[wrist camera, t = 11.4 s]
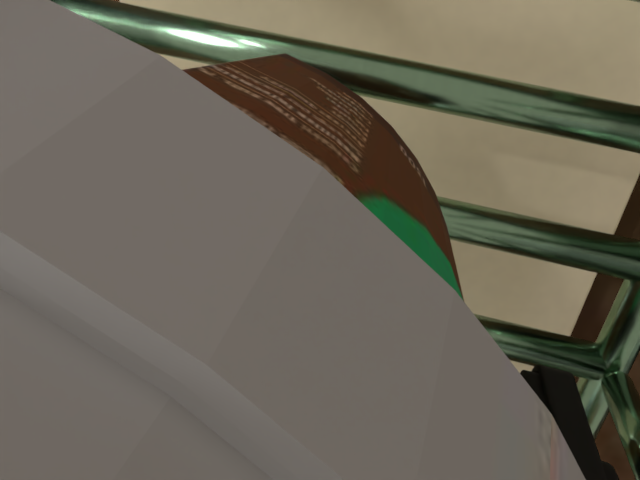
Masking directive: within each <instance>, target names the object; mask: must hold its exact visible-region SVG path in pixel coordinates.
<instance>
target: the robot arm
mask: <svg viewBox="0 0 640 480" xmlns="http://www.w3.org/2000/svg"><path fill="white" fill-rule="evenodd" d="M520 374H521V375H522V377H523V378H524V379H525V381H526V382H527V383H528V384H529V386H530V387H531V388H532V390H533V391H534V392H535V393H536V395H537V396H538V397H539V399H540V400H541V401H542V402H543V404H544V405H545V406H546V408H547V409H548V410H549V411H550V413H551V414H552V416H553V418H554V420H555V422H556V424H557V425H558V427H559V429H560V431H561V433H562V435H563V437H564V439H565V441H566V443H567V445H568V447H569V448H570V450H571V452H572V454H573V456H574V458H575V460H576V462H577V464H578V466H579V468H580V470H581V472H582V473H583V475H584V477H585V479H586V480H619V478H618V476H617V474H616V472H615V469H614V467H613V466H611V465H610V464H609V463H607V462H603V461H601V459H600V456H599V453H598V450H597V447H596V444H595V441H594V437H593V434H592V431H591V428H590V425H589V422H588V419H587V416H586V413H585V410H584V406H583V403H582V400H581V397H580V394H579V391H578V388H577V385H576V382H575V379H574V376H573V374H572V373H570V372H567V371H563V370H559V369H555V368H551V367H546V366H542V365H535V366H534V368H533V369H532V371H527V370H522V371H521V373H520Z"/></svg>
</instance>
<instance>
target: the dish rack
mask: <svg viewBox="0 0 640 480" xmlns="http://www.w3.org/2000/svg"><path fill="white" fill-rule="evenodd" d="M50 1H52V2H54V3H56V4H58V5H60V6H62V7H64V8H66V9H68V10H70V11H72V12H74V13H76V14H78V15H80V16H82V17H84V18H86V19H88V20H90V21H92V22H94V23H96V24H98V25H100V26H102V27H104V28H106V29H109V30H111V31H113V32H115V33H117V34H119V35H121V36H123V37H125V38H127V39H129V40H131V41H133V42H135V43H137V44H139V45H141V46H143V47H145V48H147V49H149V50H151V51H153V52H155V53H157V54H159V55H161V56H162V57H164V58H165V59H167V60H168V61H170V62H171V63H172V64H174V65H175V66H177V67H178V68H180V69H181V70H183V69H190V68H196V67H202V66H208V65H215V64H221V63H227V62H233V61H240V60H246V59H252V58H259V57H265V56H271V55H277V54H284V53H286V54H288V55H290V56H292V57H294V58H296V59H298V60H300V61H303V62H305V63H307V64H309V65H311V66H313V67H315V68H317V69H319V70H321V71H323V72H325V73H327V74H329V75H330V76H332V77H333V78H334V79H336V80H337V81H339V82H340V83H342V84H343V85H344V86H346V87H347V88H349V89H350V90H352V91H353V92H354V93H356V94H357V95H359V96H360V97H362V98H363V99H364V100H365V101H366V102H367V103H368V104H369V105H370V106H371V107H372V108H373V109H374V110H375V111H376V112H377V113H379V114H380V115H381V116H382V117H383V118H384V119H385V120H386V121H387V122H388V123H389V124H390V125H391V126H392V127H393V128H394V129H395V131H396V132H397V133H398V135H399V136H400V137H401V139H402V140H403V141H404V142H405V144H406V145H407V146H408V148H409V149H410V150H411V152H412V153H413V154H414V155H415V157H416V158H417V160H418V161H419V163H420V165H421V167H422V169H423V171H424V173H425V174H426V176H427V178H428V180H429V182H430V184H431V185H432V187H433V189H434V191H435V193H436V196H437V199H438V202H439V205H440V208H441V211H442V214H443V216H444V219H445V222H446V225H447V229H448V233H449V237H450V242H451V246H452V250H453V255H454V259H455V263H456V268H457V272H458V276H459V281H460V285H461V289H462V294H463V298H464V302H465V304H466V305H467V306H468V307H469V309H470V310H471V311H472V313H473V314H474V315H475V316H476V318H477V319H478V320H479V322H480V323H481V324H482V325H483V327H484V328H485V329H486V331H487V332H488V333H489V334H490V336H491V337H492V338H493V340H494V341H495V342H496V343H497V345H498V346H499V347H500V349H501V350H502V351H503V352H504V354H505V355H506V356H507V357H508V359H509V360H510V361H511V363H512V364H513V365H514V366H515V368H516V369H517V370H518V372H519V373H521V371H522V370H527V371H532V369H533V368H534V366H535V365H542V366H546V367H551V368H555V369H559V370H563V371H567V372H570V373H572V374H573V376H576V377H580V378H579V380H578V382H577V384H576V385H577V388H578V391H579V394H580V397H581V400H582V403H583V406H584V410H585V413H586V416H587V419H588V422H589V425H590V428H591V431H592V434H593V437H594V441H595V439H596V437H597V435H598V433H599V431H600V429H601V427H602V425H603V423H604V421H605V419H606V417H607V415H608V413H609V411H610V413H611V415H612V418H613V421H614V423H615V426H616V429H617V431H618V434H619V437H620V439H621V442H622V445H623V447H624V450H625V452H626V455H627V458H628V460H629V463H630V466H631V468H632V471H633V474H634V476H635V479H636V480H640V396H639V394H638V392H637V390H636V388H635V385H634V383H633V381H632V379H631V378H630V377H629V376H628V373H629V371H630V369H631V367H632V365H633V363H634V361H635V359H636V357H637V355H638V353H639V351H640V240H636V239H631V238H626V237H622V236H617V235H614V233H615V231H616V229H617V226H618V224H619V222H620V219H621V217H622V215H623V212H624V210H625V208H626V205H627V203H628V201H629V198H630V196H631V194H632V191H633V189H634V187H635V184H636V182H637V180H638V177H639V175H640V0H120V2H117V1H112V0H50ZM597 273H599V274H604V275H608V276H612V277H617V278H621V279H624V281H623V283H622V285H621V288H620V290H619V292H618V294H617V296H616V299H615V301H614V303H613V305H612V307H611V310H610V312H609V314H608V316H607V318H606V321H605V323H604V325H603V327H602V329H601V332H600V334H599V336H598V338H597V340H596V342H592V341H588V340H583V339H579V338H575V337H571V333H572V331H573V329H574V326H575V324H576V322H577V319H578V317H579V315H580V312H581V310H582V308H583V305H584V303H585V301H586V298H587V296H588V294H589V291H590V289H591V287H592V284H593V282H594V280H595V277H596V275H597Z"/></svg>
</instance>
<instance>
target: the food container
mask: <svg viewBox="0 0 640 480" xmlns="http://www.w3.org/2000/svg"><path fill="white" fill-rule="evenodd" d="M0 480H586V479H585V477H584V475H583V473H582V472H581V470H580V468H579V466H578V464H577V462H576V460H575V458H574V456H573V454H572V452H571V450H570V448H569V447H568V445H567V443H566V441H565V439H564V437H563V435H562V433H561V431H560V429H559V427H558V425H557V424H556V422H555V420H554V418H553V416H552V414H551V413H550V411H549V410H548V409H547V408H546V406H545V405H544V404H543V402H542V401H541V400H540V399H539V397H538V396H537V395H536V393H535V392H534V391H533V390H532V388H531V387H530V386H529V384H528V383H527V382H526V381H525V379H524V378H523V377H522V375H521V374H520V373H519V372H518V370H517V369H516V368H515V366H514V365H513V364H512V363H511V361H510V360H509V359H508V357H507V356H506V355H505V354H504V352H503V351H502V350H501V349H500V347H499V346H498V345H497V343H496V342H495V341H494V340H493V338H492V337H491V336H490V334H489V333H488V332H487V331H486V329H485V328H484V327H483V325H482V324H481V323H480V322H479V320H478V319H477V318H476V316H475V315H474V314H473V313H472V311H471V310H470V309H469V307H468V306H467V305H466V304H465V302H464V298H463V294H462V289H461V285H460V281H459V276H458V272H457V268H456V263H455V259H454V255H453V250H452V246H451V242H450V237H449V233H448V229H447V225H446V222H445V219H444V216H443V214H442V211H441V208H440V205H439V202H438V199H437V196H436V193H435V191H434V189H433V187H432V185H431V184H430V182H429V180H428V178H427V176H426V174H425V173H424V171H423V169H422V167H421V165H420V163H419V161H418V160H417V158H416V157H415V155H414V154H413V153H412V152H411V150H410V149H409V148H408V146H407V145H406V144H405V142H404V141H403V140H402V139H401V137H400V136H399V135H398V133H397V132H396V131H395V129H394V128H393V127H392V126H391V125H390V124H389V123H388V122H387V121H386V120H385V119H384V118H383V117H382V116H381V115H380V114H379V113H377V112H376V111H375V110H374V109H373V108H372V107H371V106H370V105H369V104H368V103H367V102H366V101H365V100H364V99H363V98H362V97H360V96H359V95H357V94H356V93H354V92H353V91H352V90H350V89H349V88H347V87H346V86H344V85H343V84H342V83H340V82H339V81H337V80H336V79H334V78H333V77H332V76H330V75H329V74H327V73H325V72H323V71H321V70H319V69H317V68H315V67H313V66H311V65H309V64H307V63H305V62H303V61H300V60H298V59H296V58H294V57H292V56H290V55H288V54H286V53H284V54H277V55H271V56H265V57H259V58H252V59H246V60H240V61H233V62H227V63H221V64H215V65H208V66H202V67H196V68H190V69H183V70H181V69H180V68H178V67H177V66H175V65H174V64H172V63H171V62H170V61H168V60H167V59H165V58H164V57H162V56H161V55H159V54H157V53H155V52H153V51H151V50H149V49H147V48H145V47H143V46H141V45H139V44H137V43H135V42H133V41H131V40H129V39H127V38H125V37H123V36H121V35H119V34H117V33H115V32H113V31H111V30H109V29H106V28H104V27H102V26H100V25H98V24H96V23H94V22H92V21H90V20H88V19H86V18H84V17H82V16H80V15H78V14H76V13H74V12H72V11H70V10H68V9H66V8H64V7H62V6H60V5H58V4H56V3H54V2H52V1H50V0H0Z"/></svg>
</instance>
